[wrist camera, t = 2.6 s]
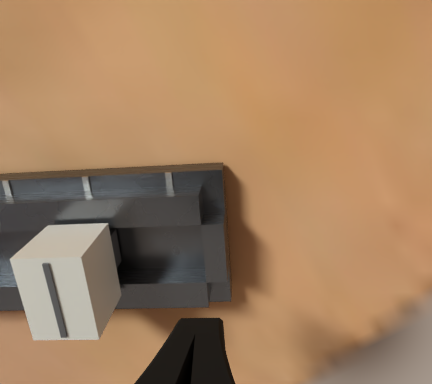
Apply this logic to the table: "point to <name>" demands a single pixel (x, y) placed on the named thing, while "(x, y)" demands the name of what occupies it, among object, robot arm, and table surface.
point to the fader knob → (69, 280)
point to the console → (130, 228)
